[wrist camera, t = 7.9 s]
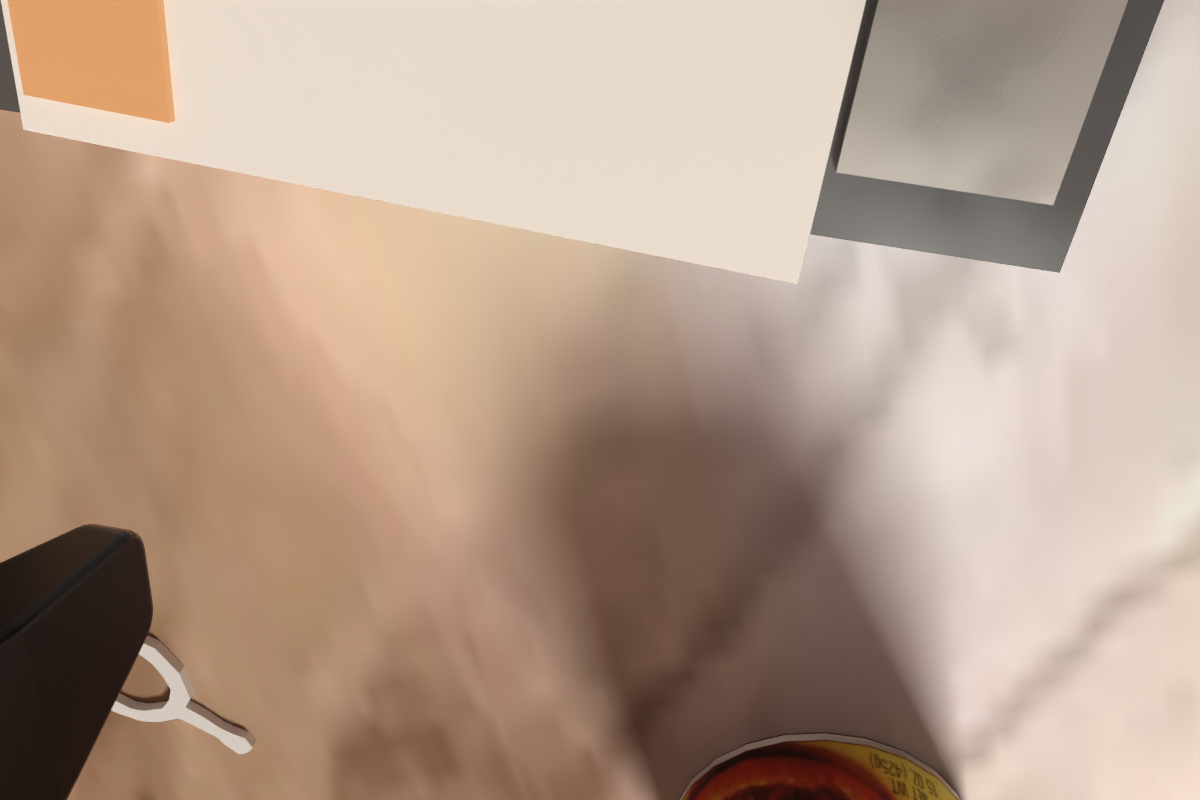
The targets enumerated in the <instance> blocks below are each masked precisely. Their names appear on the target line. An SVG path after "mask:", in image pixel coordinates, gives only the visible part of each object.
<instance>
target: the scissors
mask: <svg viewBox="0 0 1200 800" xmlns="http://www.w3.org/2000/svg"><path fill="white" fill-rule="evenodd" d="M139 655H141V656H143V657H144V658H145V659H147V660H148V661H149V662H150V663H152V664H153V666H154V667H155V668H156V669H157V670H158V671H159V673H160V674H161V675H162V676H163V677H164V679H165V681H166V682H167V684H168V686H169V688H170V690H171V692H170V697H169V699H168V701H166V702H157V703H149V704H148V703H142V702H137V701H134V700H132V699H130V698H128V697H126V696H124V695H122V694H120V693H119V695H118V697H117V699H116V701H115V703H114V705H113V707H112V711H114V712H116V713H118V714H121V715H124V716H127V717H130V718H133V719H136V720H139V721H148V722H161V721H167V720H172V719H177V718H179V719H181V720H183V721H185V722H187V723H189V724H191V725H194V726H196V727H198V728H200V729H202V730H203V731H205V732H207V733H209V734H211V735H213V736H215V737H217V738H219V739H220V741H221V742H222V743H223V744H224V745H226V746H228V747H229V748H231V749H232V750H234V751H235V752H237V753H238V754H239V755H240V754H243V753H247V752H249V751H250V750H251V749H252V747H253V745H254V744H255V742H256V740H255V739H254V738H253V736H252V735H251V734H250V732H249V731H246V730H243V729H240V728H238V727H235V726H233V725H231V724H229V723H227V722H225V721H223V720H222V719H220V718H219V717H217V716H216V715H214V714H213V713H211V712H210V711H208V710H207V709H205V708H203V707H201V706H200V705H198V704H196V703H194V702H192V701H191V700H190V699H191V697H192V695H193V694H194V692H195V691H194V689H193V686H192V684H191V682H190V679H189V677H188V674H187V672H186V670H185V667H184V666H183V665H182V664H181V662H180V661H179V660H178V659H177V658H176V657H175V656H174V655H173V654H172V653H171V652H170V651H169V650H168V649H167V648H166V647H165V646H164V645H163V644H162V642H161V641H159V640H157V639H155V638H153V637H151V636H149V635H147V637H146V640H145V642H144V644H143V646H142V648H141V650H140V652H139Z"/></svg>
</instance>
